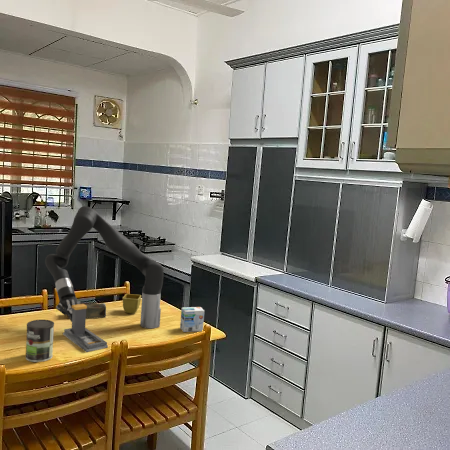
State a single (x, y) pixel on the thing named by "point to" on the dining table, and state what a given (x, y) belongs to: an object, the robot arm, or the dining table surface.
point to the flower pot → (131, 303)
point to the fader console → (86, 340)
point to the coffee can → (39, 340)
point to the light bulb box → (192, 319)
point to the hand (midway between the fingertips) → (74, 321)
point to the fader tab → (78, 318)
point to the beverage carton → (95, 310)
